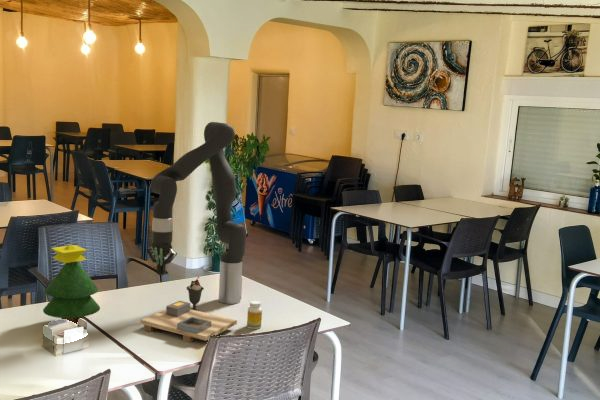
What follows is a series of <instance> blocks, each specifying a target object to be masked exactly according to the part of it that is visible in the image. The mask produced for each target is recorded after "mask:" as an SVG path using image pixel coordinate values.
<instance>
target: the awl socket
mask: <svg viewBox="0 0 600 400" xmlns="http://www.w3.org/2000/svg"><path fill="white" fill-rule="evenodd" d="M192 323H193V324H197V325H200V326H198V327H195V326H191V325H190V324H192ZM210 327H211V321H208V320H204V319H199V318H195V317H190V318H188V319H186V320H183V321H181V322H179V323H177V329H180V330H184V331H188V332H192V333H196V334H198V333H200V332H202V331H204V330H206V329H208V328H210Z"/></svg>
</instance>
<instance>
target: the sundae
mask: <svg viewBox="0 0 600 400" xmlns="http://www.w3.org/2000/svg"><path fill="white" fill-rule="evenodd" d="M199 278H200V276H197V278H196V279H195V280H191V282H190V284H189V285H188V286H186V290H187V291H188V299H189V303H190V304H192V309H191V310H196V311H198V309H197V305H198V304H199V303H200V301H201V298H202V292H203V290H205V289H204V287H203V286H201V283H200V281H199Z"/></svg>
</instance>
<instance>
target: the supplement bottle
mask: <svg viewBox="0 0 600 400" xmlns="http://www.w3.org/2000/svg"><path fill="white" fill-rule="evenodd" d="M261 304H262V303H261V301H260V300H259V301H258V300H251V301H250V302H249V307H248V308H247V317H246V320H247V321H246V327H247V328H248V329H251V330H259V329H260V328H261V327H262V319H263V318H262V317H263V315H262V314H263V309H262V308H263V307H261Z"/></svg>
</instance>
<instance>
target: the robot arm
mask: <svg viewBox="0 0 600 400" xmlns="http://www.w3.org/2000/svg"><path fill="white" fill-rule="evenodd" d="M203 138H204V143H202V144H201V145H199V146H197V147H195V148H194V149H191V150H190V151H188V152H186V153H185V154H183V155H182V156H180V157H179V158H178V159H177V160H176V161H175V162H174V163H173V164H172V165H170V166H169V167H166V168H165V169H163V170H162V171H160V172H159V173H157V174H156V175H154V177H152V179H151V180H150V181H151V182H150V185H149V186H150V189H151V191H152V192H153V193H154V194H157V195H159V197H158V201H157V200H156V201H154V204H153V205H152V206H153V207H152V208H153V209H152V210H153V211H152V215H153V216H152V222H151V241H152V242H151V246H150V247H148V248H147V247H146V252H147V253H148V255H149V258H150V259H151V261H152V263H155V264H156V273H157V275H160V276H163V275H165V274H166V265H169V264H171V262H172V261H173V260H174V258H175V257H176V256H177V255H178V253H177V251H174V250H173V246H172V242H173V231H174V230H173V228H174V223H173V209H174V208H173V207H174V203H175V201H176V200H175V199H176V196H177V194H178V193H177V192H178V185H177V182H178V181H179V182H181V181H182V182H183V181H184V180H186V179H187V177H189V176H190V175H191V174H193V172H194V171H195V170H197V169H198V168H199V167H200V166H201V165H202V164H203V163H205V162H206V161H207V160H209V167H210V173H211V181H212V182H211V183H212V188H213V194H214V201H215V202H214V204H215V212H216V213H215V215H216V234H217V235H216V236H217V238H218V240H219V241H220V242H221V243H223V244H226V245H228V249H227V251H225V252H222V253H221V254H220V259H219V278H218V280H219V281H218V282H219V283H218V302H220V303H222V304H225V305H226V304H227V305H229V304H230V305H233V304H239V303H241V300H242V293H243V292H242V291H243V262H244V261H243V258H244V256H245V253H246V243H247V231H246V230H247V229H246V227H245V225H242V224H240V223H237V222H233V218H232V205H233V203H234V201H235V199H236V196H237V183H236V176H235V173H234V172H233V169H232V167H231V166H230V163H229V161H228V160H227V157H226V156H225V151H224V149H225V148H227V147H228V146H230V144H232V143H233V141H234V139H235V129H234V128H233V126H232V125H230V124H229V123H224V122H217V121H209V122H208V123H207V124H206V125H205V127H204V130H203Z"/></svg>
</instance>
